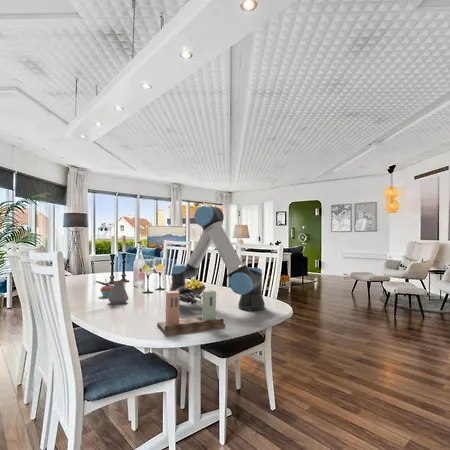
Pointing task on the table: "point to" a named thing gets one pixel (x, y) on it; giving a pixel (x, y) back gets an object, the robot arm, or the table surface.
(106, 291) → the cupcake
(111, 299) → the coffee pot
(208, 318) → the pale green block
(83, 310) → the table surface
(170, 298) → the salmon orange rectangular block
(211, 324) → the wooden board
